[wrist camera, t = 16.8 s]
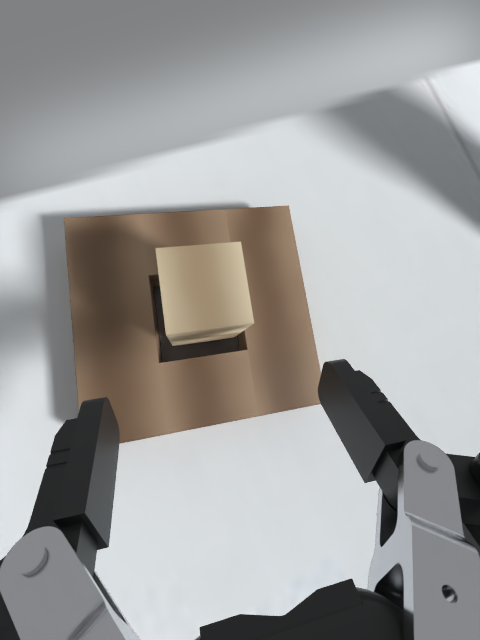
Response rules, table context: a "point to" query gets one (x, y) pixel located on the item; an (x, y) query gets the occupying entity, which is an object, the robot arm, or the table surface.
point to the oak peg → (204, 292)
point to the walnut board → (142, 327)
